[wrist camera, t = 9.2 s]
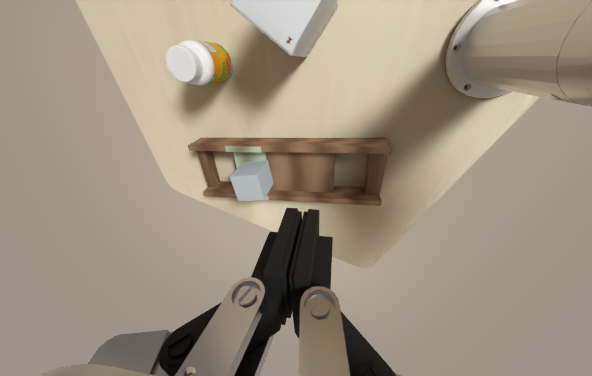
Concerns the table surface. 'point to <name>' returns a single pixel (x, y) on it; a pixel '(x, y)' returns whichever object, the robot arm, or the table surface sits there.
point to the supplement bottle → (199, 62)
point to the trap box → (298, 167)
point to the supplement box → (289, 21)
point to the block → (252, 180)
